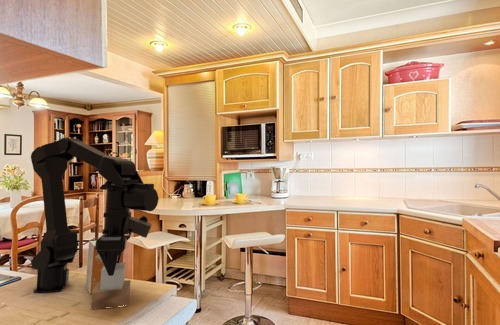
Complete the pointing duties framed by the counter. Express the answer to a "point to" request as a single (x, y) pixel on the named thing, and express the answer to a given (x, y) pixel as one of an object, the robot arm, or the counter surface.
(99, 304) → the base block
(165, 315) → the counter surface
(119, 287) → the cube
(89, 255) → the small box
